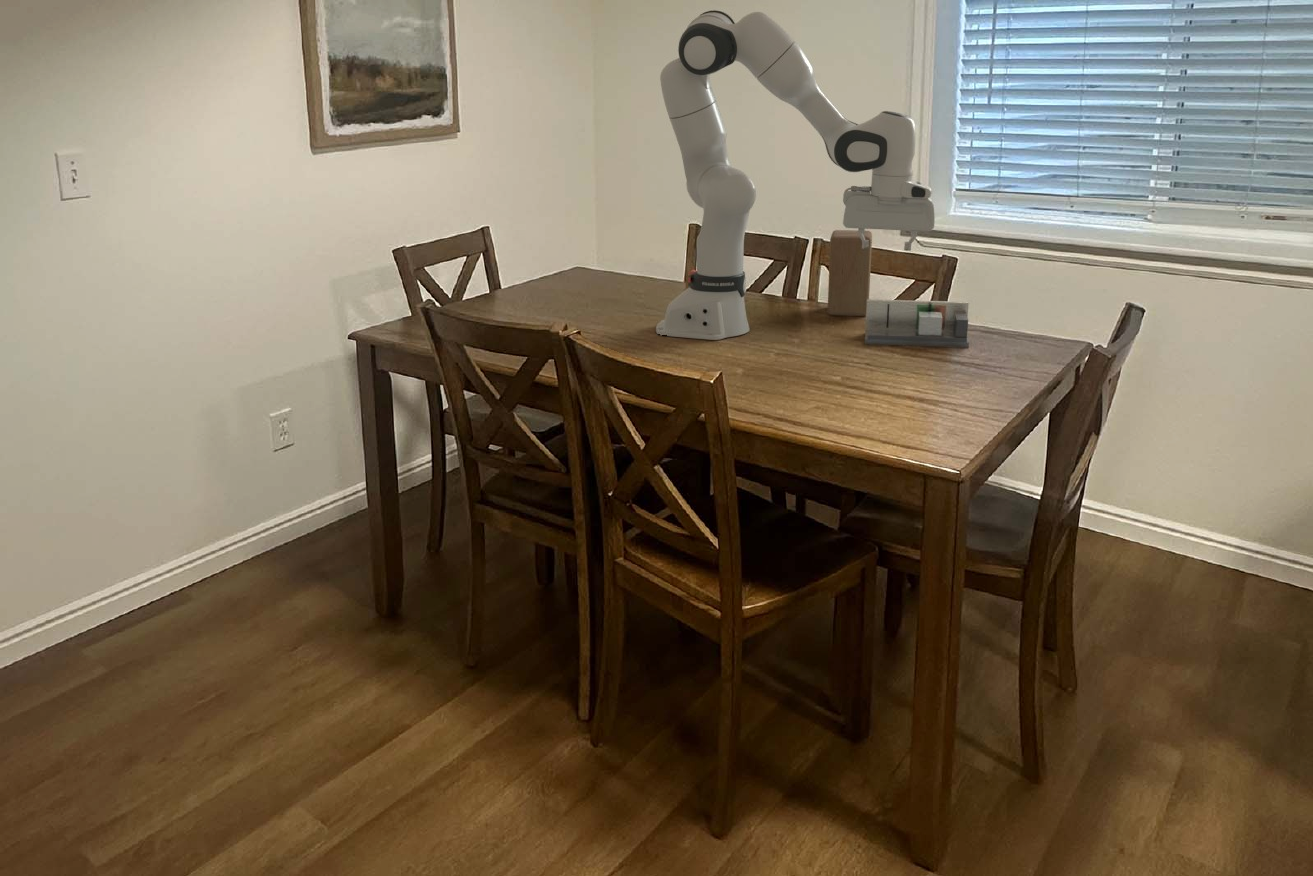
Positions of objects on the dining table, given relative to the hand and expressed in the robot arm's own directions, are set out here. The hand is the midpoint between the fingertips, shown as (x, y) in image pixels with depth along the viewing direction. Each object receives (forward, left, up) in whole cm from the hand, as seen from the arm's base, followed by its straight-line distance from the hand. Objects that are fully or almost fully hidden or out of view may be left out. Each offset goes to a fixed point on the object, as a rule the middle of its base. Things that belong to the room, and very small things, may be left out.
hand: (886, 249), depth 255 cm
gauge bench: (+8, -1, -21) cm, 22 cm away
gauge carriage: (+11, -2, -19) cm, 22 cm away
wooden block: (-8, +24, -21) cm, 33 cm away
